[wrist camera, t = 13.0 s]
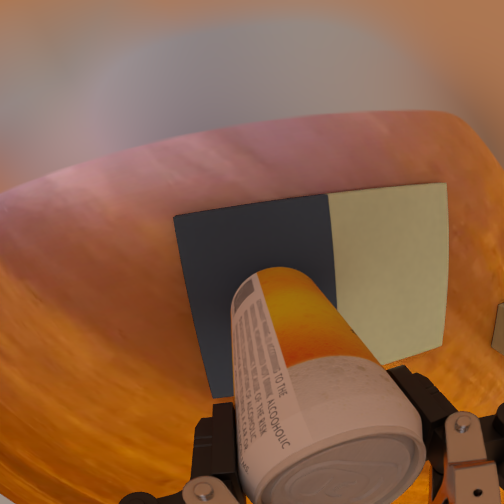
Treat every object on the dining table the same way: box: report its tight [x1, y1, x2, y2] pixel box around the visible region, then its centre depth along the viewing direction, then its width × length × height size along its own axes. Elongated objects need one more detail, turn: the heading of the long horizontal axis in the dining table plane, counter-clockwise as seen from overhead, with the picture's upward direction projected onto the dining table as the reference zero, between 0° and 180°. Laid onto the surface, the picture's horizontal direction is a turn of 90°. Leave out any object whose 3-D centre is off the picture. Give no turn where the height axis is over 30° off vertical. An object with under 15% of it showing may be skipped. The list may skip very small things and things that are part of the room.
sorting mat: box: [173, 183, 449, 399], centre depth 22 cm, size 14×20×1 cm
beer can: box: [231, 267, 426, 504], centre depth 14 cm, size 6×6×15 cm
